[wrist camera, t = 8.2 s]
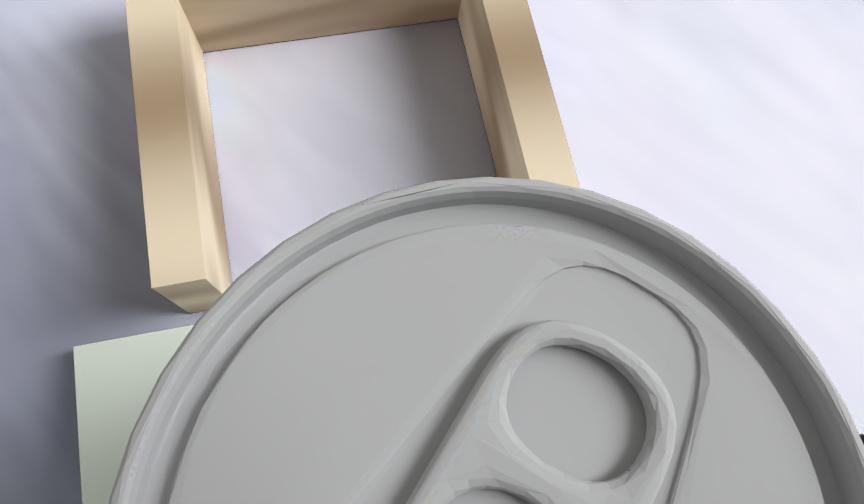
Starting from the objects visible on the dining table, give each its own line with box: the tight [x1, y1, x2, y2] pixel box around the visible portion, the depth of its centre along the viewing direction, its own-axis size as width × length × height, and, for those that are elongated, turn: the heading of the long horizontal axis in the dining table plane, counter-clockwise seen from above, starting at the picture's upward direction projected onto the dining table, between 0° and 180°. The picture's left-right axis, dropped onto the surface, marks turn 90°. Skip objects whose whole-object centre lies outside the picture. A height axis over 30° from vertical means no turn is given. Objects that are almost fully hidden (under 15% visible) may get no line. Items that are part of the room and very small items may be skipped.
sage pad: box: [73, 325, 194, 504], centre depth 17 cm, size 9×16×1 cm, turn 102°
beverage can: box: [109, 177, 864, 504], centre depth 10 cm, size 6×6×12 cm
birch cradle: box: [125, 0, 580, 313], centre depth 18 cm, size 9×10×3 cm
